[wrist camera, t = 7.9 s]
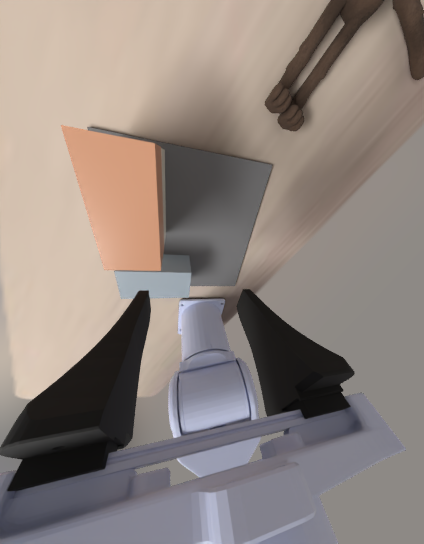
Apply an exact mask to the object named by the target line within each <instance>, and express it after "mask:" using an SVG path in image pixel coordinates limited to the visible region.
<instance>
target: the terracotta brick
mask: <svg viewBox="0 0 424 544" xmlns="http://www.w3.org/2000/svg"><path fill="white" fill-rule="evenodd" d="M61 127H62V131H63V134H64V137H65V141H66V144H67V147H68V151H69V154H70V157H71V161H72V164H73V167H74V170H75V174H76V177H77V180H78V184H79V187H80V190H81V194H82V197H83V200H84V204H85V207H86V210H87V214H88V217H89V220H90V223H91V227H92V230H93V233H94V237H95V240H96V243H97V247H98V250H99V253H100V257H101V260H102V263H103V267H104V270H136V271H161V267H162V260H163V253H164V226H163V193H162V161H161V146H159V145H157V144H155V143H151V142H146V141H140V140H135V139H130V138H125V137H120V136H115V135H109V134H104V133H99V132H94V131H89V130H84V129H78V128H73V127H68V126H63V125H61Z"/></svg>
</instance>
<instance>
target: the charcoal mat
mask: <svg viewBox="0 0 424 544" xmlns="http://www.w3.org/2000/svg"><path fill="white" fill-rule="evenodd" d="M87 128H88V130H89V131H94V132H99V133H104V134H109V135H115V136H120V137H125V138H130V139H135V140H140V141H146V142H151V143H155V144H157V145H159V146H161V148H162V149H164V150H165V199H166V236H165V243H164V253H163V254H168V255H189V258H190V266H191V282H190V286H235V284H236V280H237V277H238V274H239V271H240V268H241V264H242V261H243V258H244V255H245V252H246V248H247V245H248V242H249V239H250V236H251V232H252V229H253V226H254V223H255V220H256V216H257V213H258V210H259V207H260V204H261V200H262V197H263V194H264V191H265V188H266V184H267V181H268V178H269V175H270V172H271V168H272V165H270V164H266V163H261V162H256V161H251V160H246V159H241V158H236V157H232V156H227V155H222V154H217V153H212V152H207V151H202V150H197V149H193V148H188V147H183V146H178V145H173V144H168V143H163V142H159V141H154V140H149V139H144V138H139V137H134V136H129V135H125V134H120V133H115V132H110V131H105V130H100V129H95V128H90V127H87Z"/></svg>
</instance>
